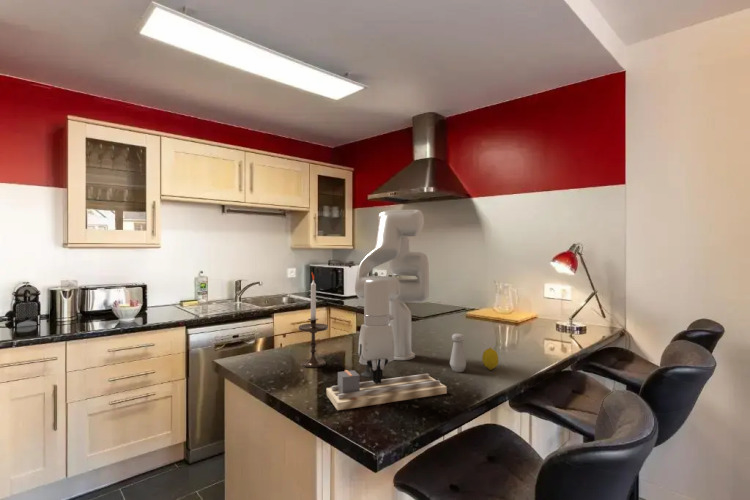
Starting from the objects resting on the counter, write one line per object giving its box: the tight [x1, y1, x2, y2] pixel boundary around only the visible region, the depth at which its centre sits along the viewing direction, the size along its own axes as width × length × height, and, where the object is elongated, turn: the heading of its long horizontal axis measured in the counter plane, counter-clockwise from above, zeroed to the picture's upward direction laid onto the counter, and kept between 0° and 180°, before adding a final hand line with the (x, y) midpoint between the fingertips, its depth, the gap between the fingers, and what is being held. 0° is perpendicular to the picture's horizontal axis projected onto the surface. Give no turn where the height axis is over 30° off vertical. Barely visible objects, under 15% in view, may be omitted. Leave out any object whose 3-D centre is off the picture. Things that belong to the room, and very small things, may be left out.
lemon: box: [481, 347, 499, 371], centre depth 139 cm, size 6×6×8 cm
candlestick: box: [298, 271, 329, 369], centre depth 145 cm, size 11×11×35 cm
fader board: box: [325, 373, 448, 411], centre depth 115 cm, size 34×12×3 cm, turn 111°
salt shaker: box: [449, 333, 467, 373], centre depth 138 cm, size 6×6×13 cm
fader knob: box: [337, 369, 361, 394], centre depth 111 cm, size 5×5×5 cm
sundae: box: [358, 344, 371, 378], centre depth 133 cm, size 7×7×15 cm
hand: (376, 382), depth 114 cm, fingers closed
